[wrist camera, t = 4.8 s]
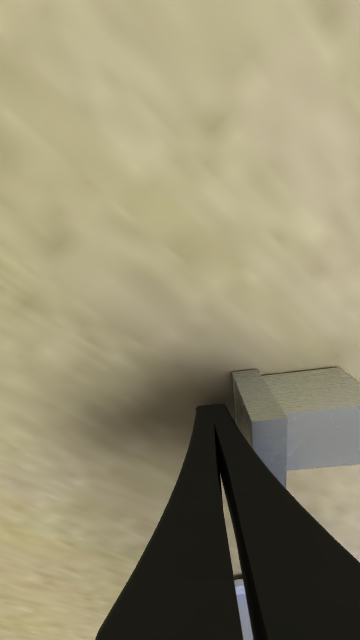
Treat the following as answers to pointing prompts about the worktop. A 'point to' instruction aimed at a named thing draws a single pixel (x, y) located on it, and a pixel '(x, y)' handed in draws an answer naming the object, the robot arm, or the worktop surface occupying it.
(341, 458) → the grey stepped block
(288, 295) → the worktop surface
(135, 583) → the robot arm
